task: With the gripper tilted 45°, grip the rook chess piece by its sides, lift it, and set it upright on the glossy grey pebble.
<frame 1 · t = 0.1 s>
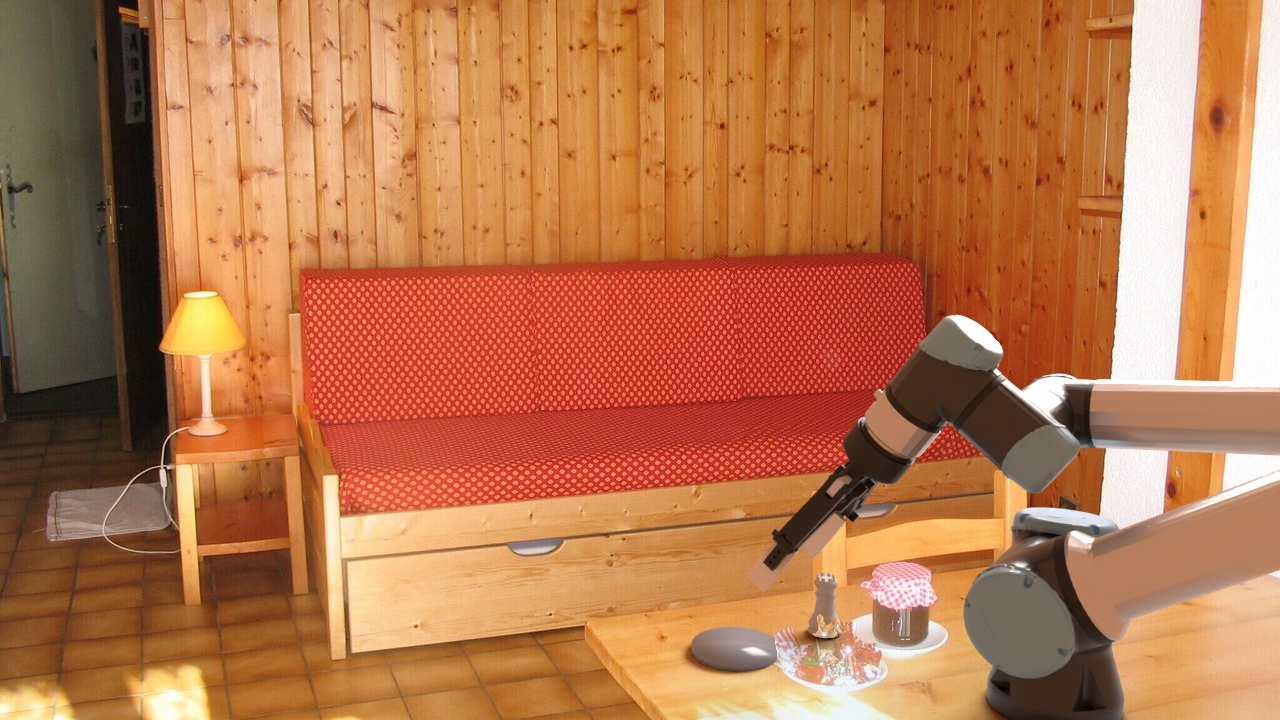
hand: (782, 566, 149), 15 cm above the table, tool tilted 35°, fingers open, 13 cm apart
glossy grey pebble: (735, 652, 162), on the table
rook chess piece: (824, 634, 168), on the table
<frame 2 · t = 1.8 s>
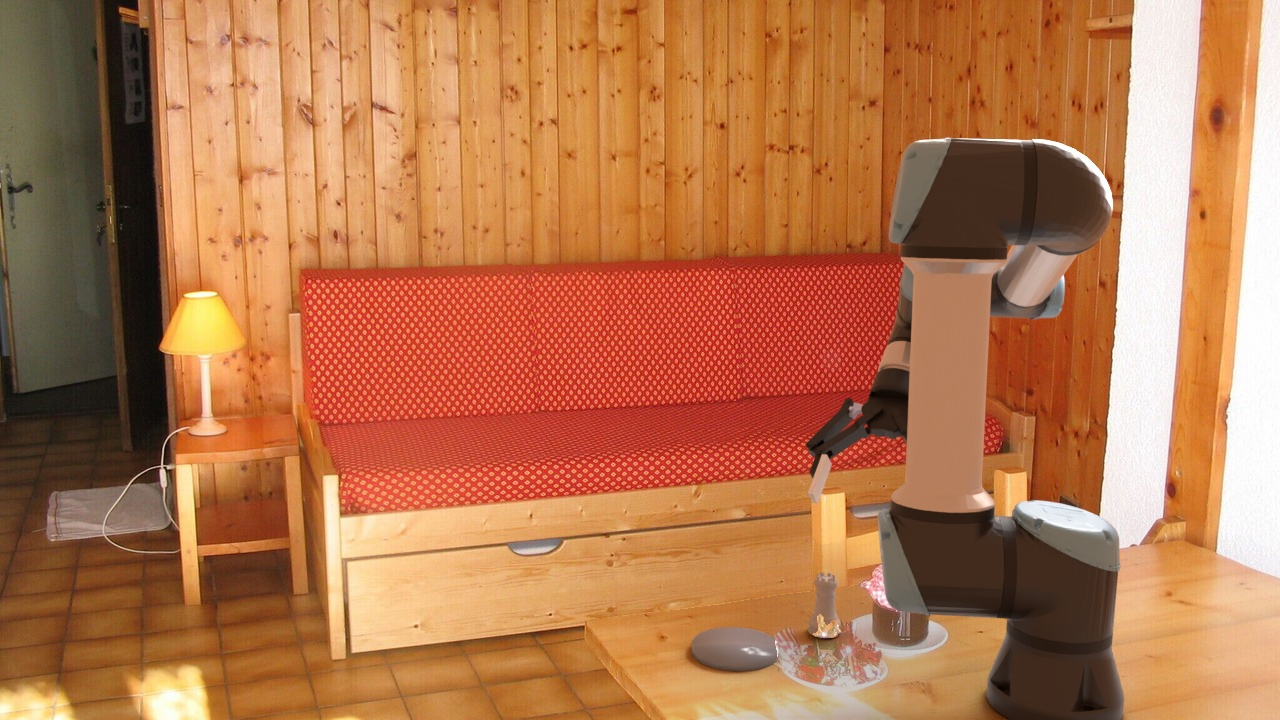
hand: (858, 506, 174), 15 cm above the table, tool tilted 45°, fingers open, 13 cm apart
nothing on the table moved.
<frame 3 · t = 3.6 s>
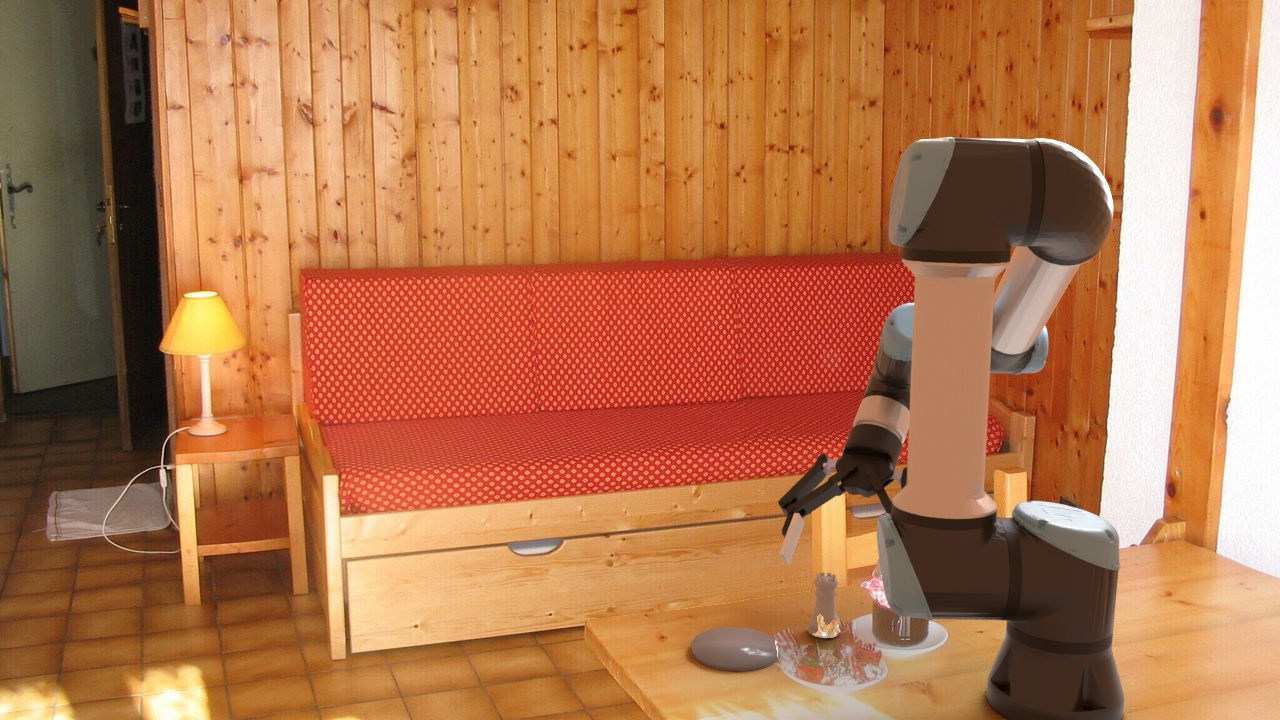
hand: (830, 569, 169), 8 cm above the table, tool tilted 45°, fingers open, 13 cm apart
nothing on the table moved.
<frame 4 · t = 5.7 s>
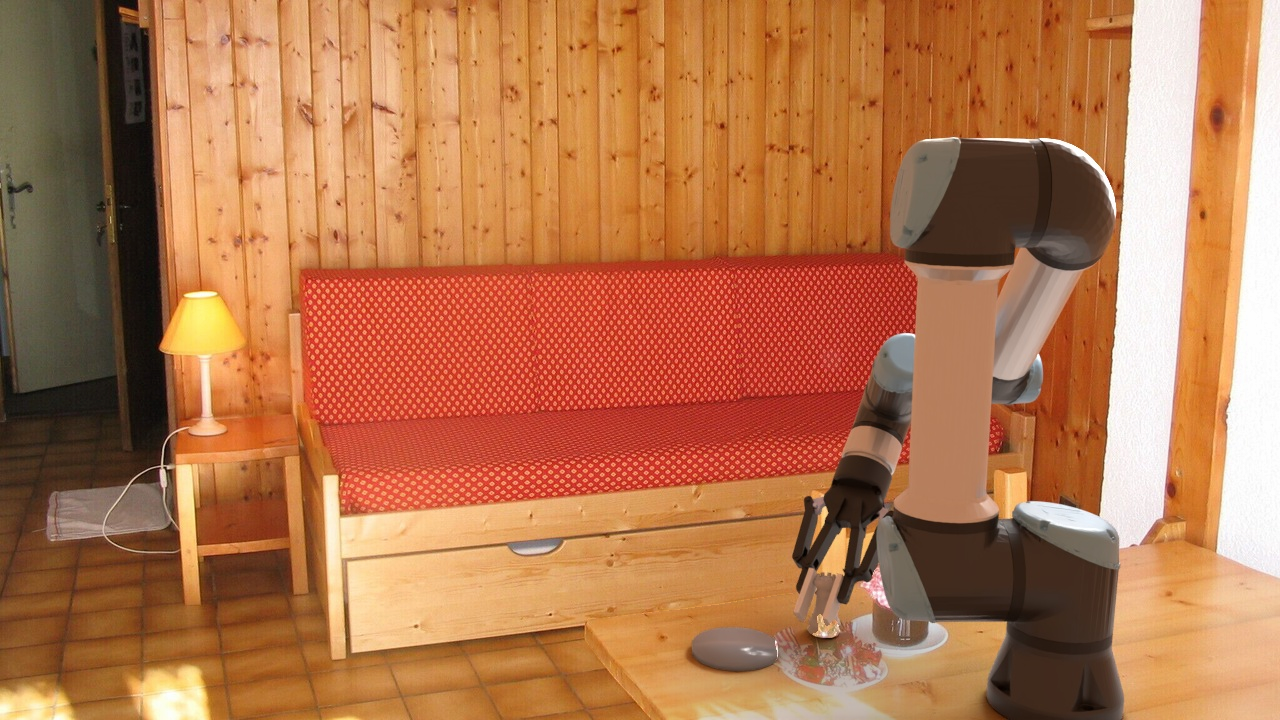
hand: (813, 619, 164), 3 cm above the table, tool tilted 45°, fingers closed on rook chess piece, 3 cm apart
rook chess piece: (824, 634, 168), on the table, touching gripper
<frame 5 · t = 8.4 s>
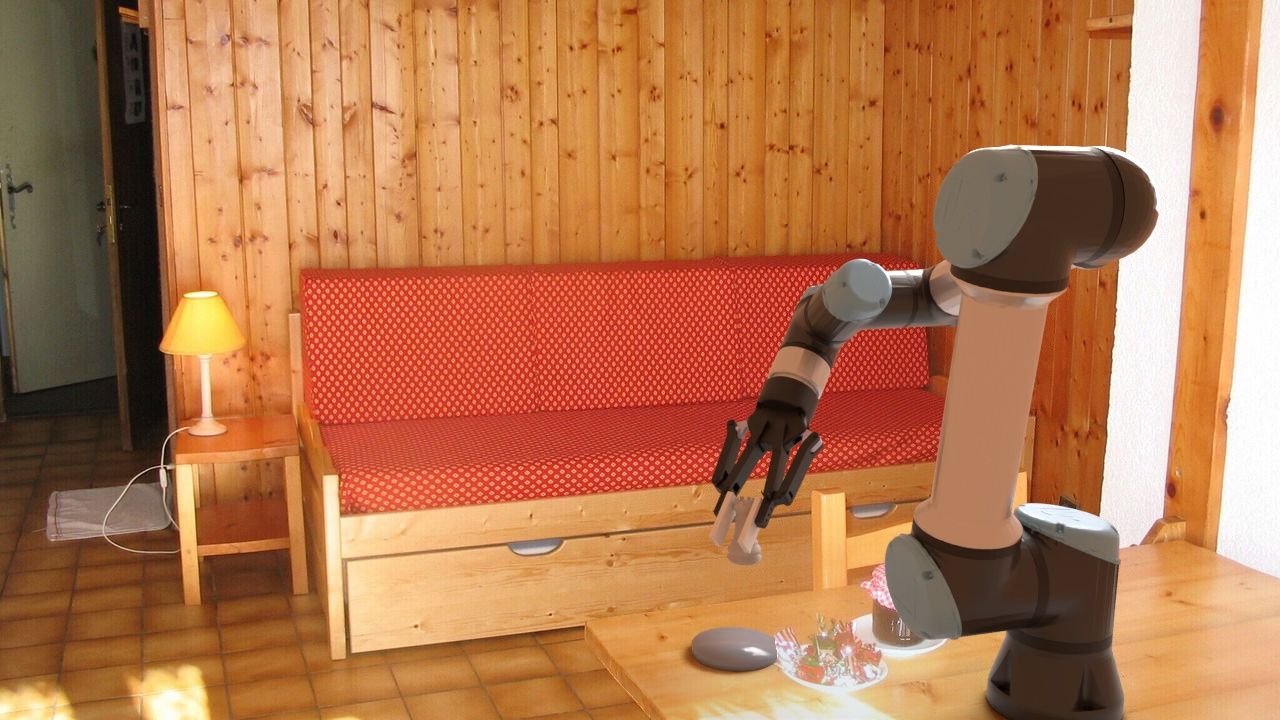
hand: (729, 544, 157), 15 cm above the table, tool tilted 45°, fingers closed on rook chess piece, 3 cm apart
rook chess piece: (744, 561, 161), point 12 cm above the table, touching gripper
when the fingers open (6 cm above the table, at t = 11.0 s): rook chess piece drops 1 cm, resting on glossy grey pebble.
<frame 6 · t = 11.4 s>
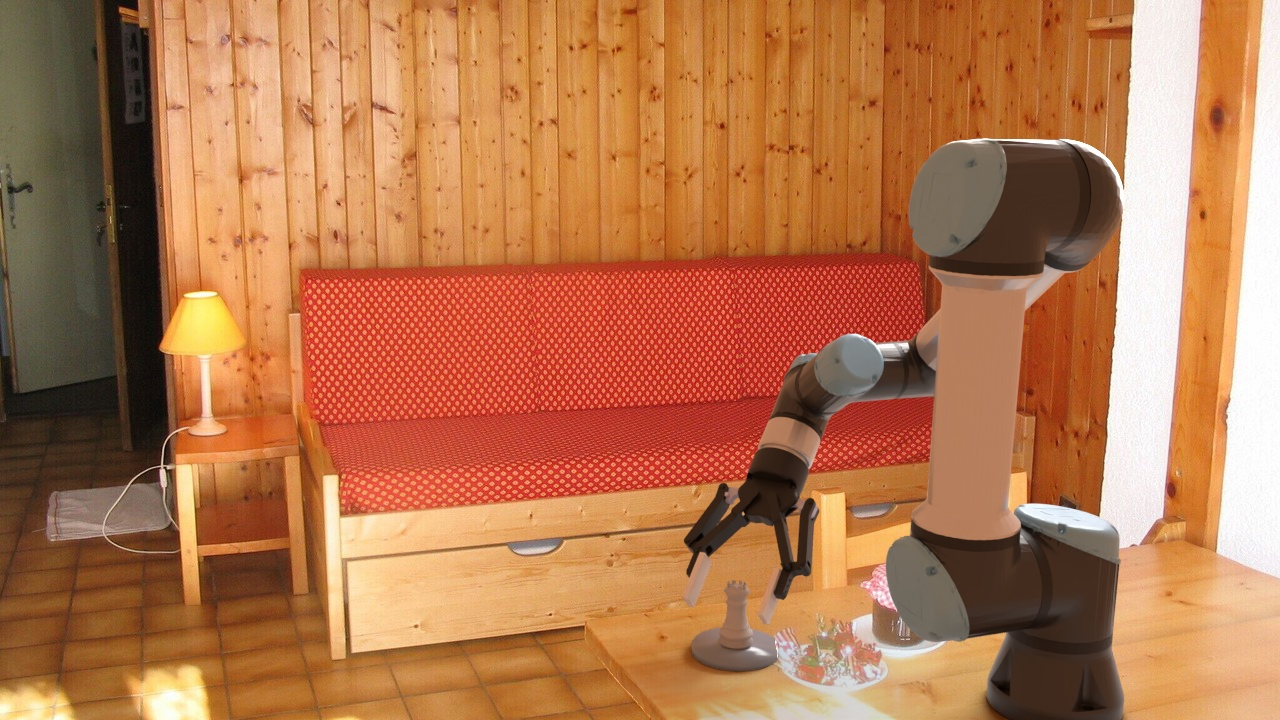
hand: (724, 610, 158), 7 cm above the table, tool tilted 45°, fingers open, 10 cm apart
rook chess piece: (735, 645, 161), point 1 cm above the table, touching glossy grey pebble
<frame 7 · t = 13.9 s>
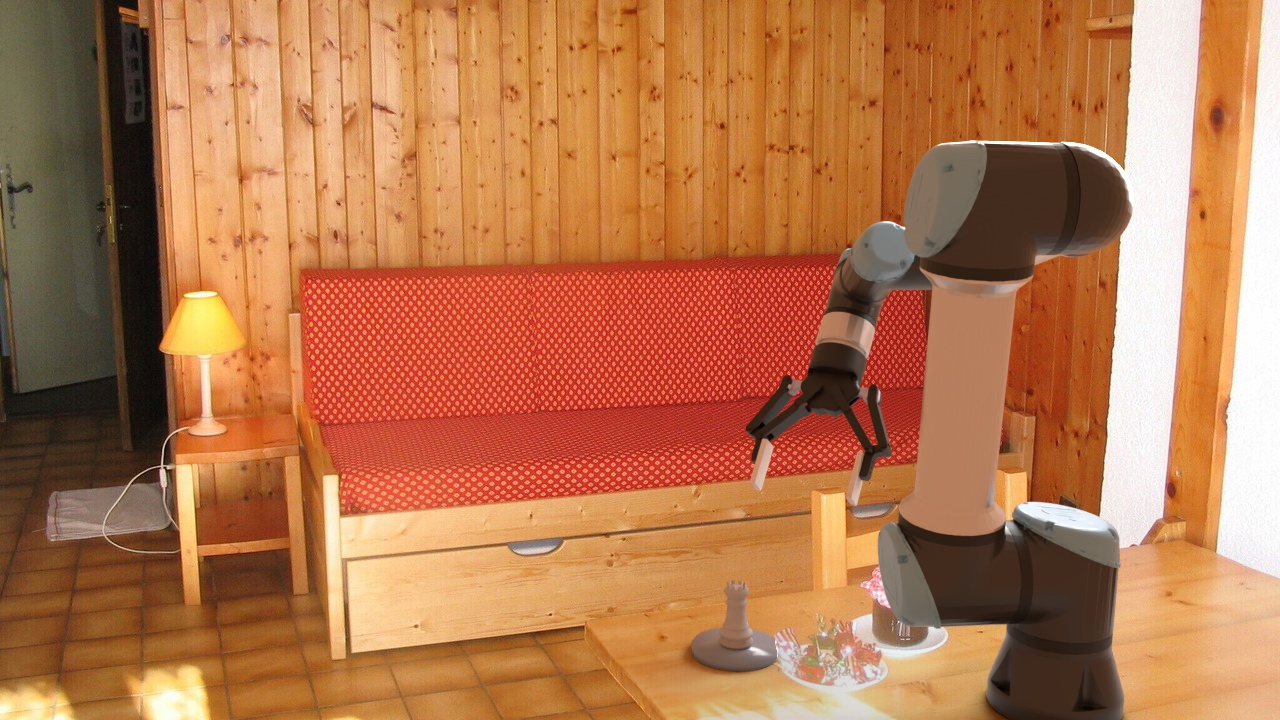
hand: (802, 494, 168), 18 cm above the table, tool tilted 35°, fingers open, 13 cm apart
nothing on the table moved.
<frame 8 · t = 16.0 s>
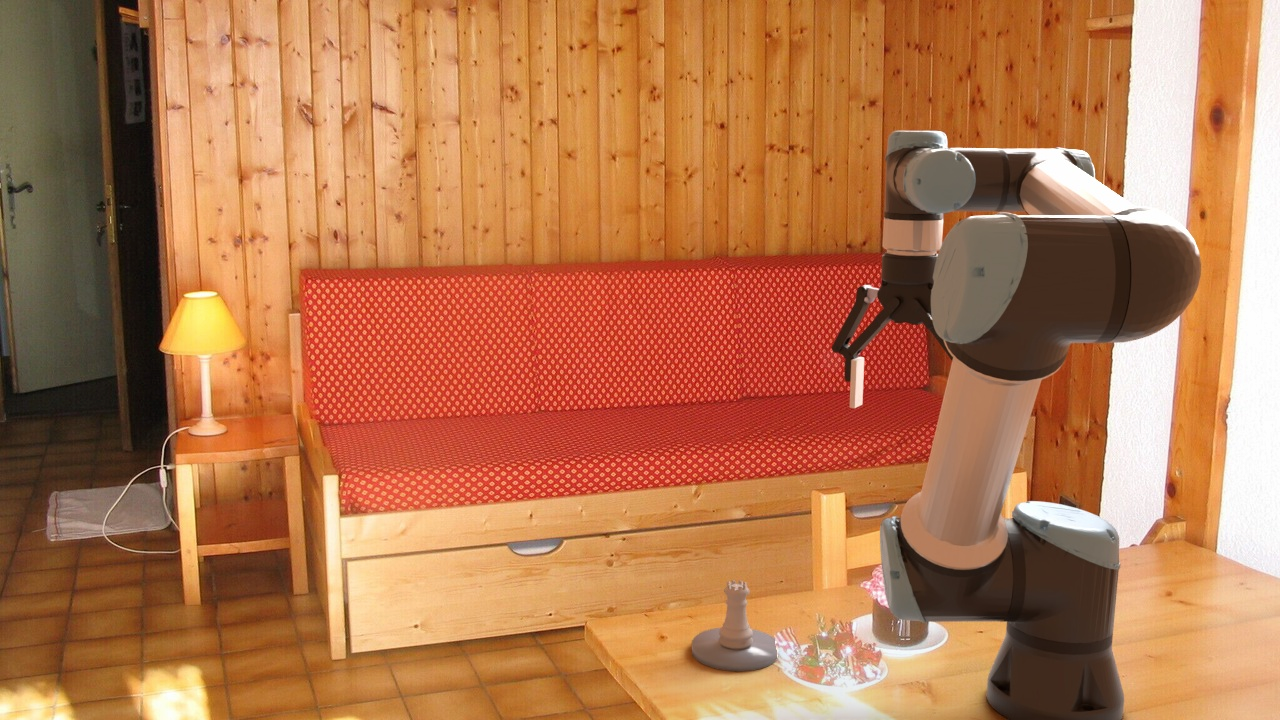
hand: (904, 412, 168), 29 cm above the table, tool pointing down, fingers open, 13 cm apart
nothing on the table moved.
at the end: rook chess piece inside the target area on the glossy grey pebble (0.1 cm from its centre), point 1.0 cm above the glossy grey pebble's base; rook chess piece tilted 0°; the gripper is holding nothing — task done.
